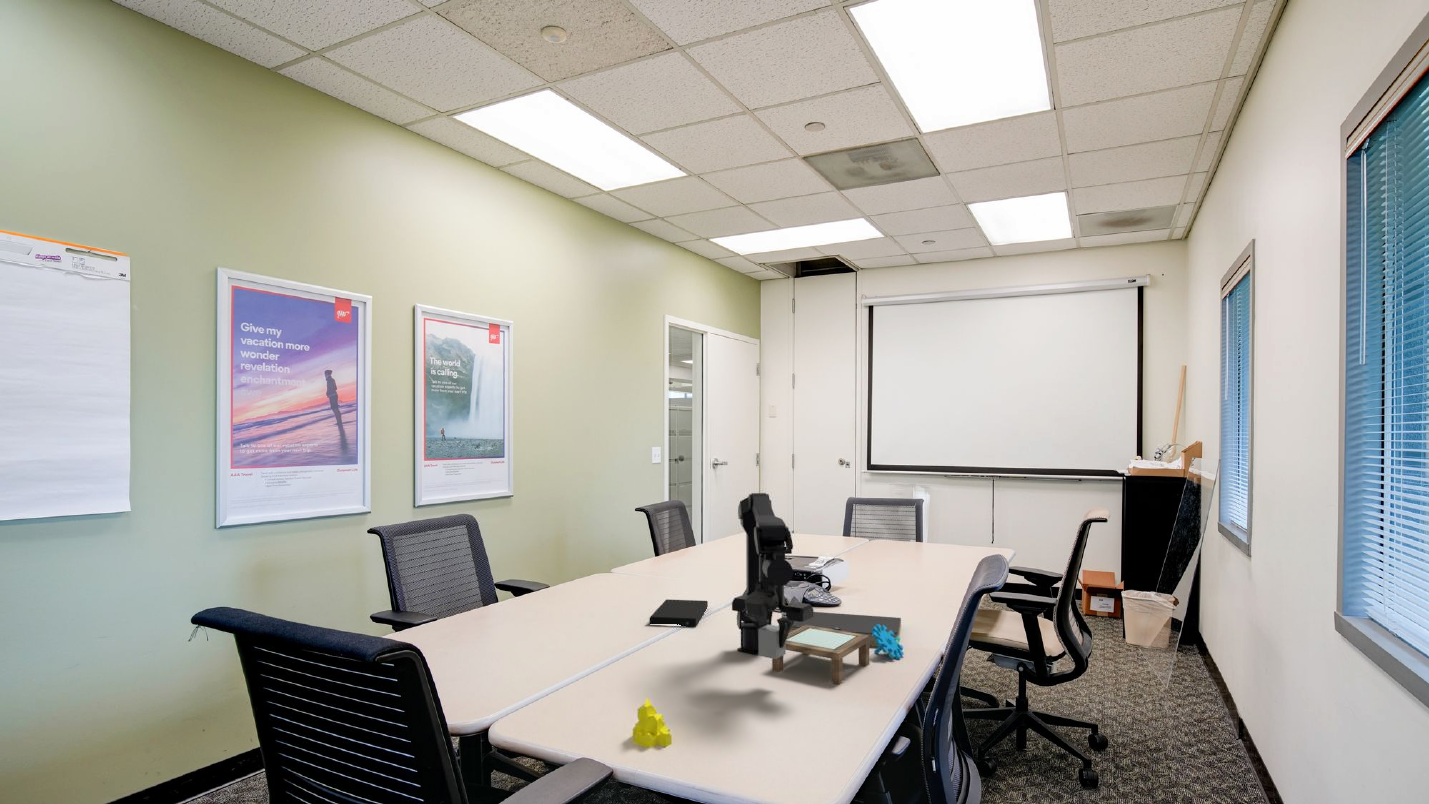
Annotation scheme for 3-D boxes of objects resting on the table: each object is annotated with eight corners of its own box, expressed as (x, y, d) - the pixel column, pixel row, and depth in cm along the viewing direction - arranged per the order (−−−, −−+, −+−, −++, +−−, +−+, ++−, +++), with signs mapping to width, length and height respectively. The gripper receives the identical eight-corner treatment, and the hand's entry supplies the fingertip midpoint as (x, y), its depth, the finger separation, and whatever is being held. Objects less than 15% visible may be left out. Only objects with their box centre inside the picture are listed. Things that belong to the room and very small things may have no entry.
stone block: (758, 655, 160) (758, 628, 160) (768, 650, 163) (768, 624, 164) (775, 659, 157) (775, 632, 157) (785, 654, 161) (785, 627, 161)
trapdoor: (809, 632, 183) (809, 628, 183) (856, 640, 176) (856, 636, 176) (785, 644, 173) (785, 640, 173) (833, 653, 165) (833, 649, 165)
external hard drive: (707, 609, 233) (707, 600, 233) (695, 628, 210) (695, 618, 210) (665, 608, 235) (665, 599, 235) (649, 627, 212) (649, 616, 212)
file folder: (776, 626, 198) (792, 607, 221) (776, 641, 198) (792, 621, 221) (897, 635, 188) (900, 615, 211) (897, 651, 188) (901, 629, 211)
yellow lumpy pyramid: (659, 751, 128) (659, 708, 128) (625, 741, 132) (625, 699, 132) (678, 740, 133) (678, 698, 133) (645, 730, 137) (645, 690, 137)
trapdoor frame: (772, 669, 172) (772, 640, 172) (806, 651, 186) (805, 624, 187) (839, 684, 162) (838, 653, 162) (869, 663, 176) (869, 635, 176)
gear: (891, 657, 176) (868, 623, 182) (875, 671, 178) (854, 636, 184) (914, 654, 183) (891, 621, 189) (898, 667, 186) (877, 634, 192)
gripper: (718, 578, 160) (718, 647, 159) (790, 587, 149) (791, 662, 149) (744, 570, 169) (744, 636, 168) (814, 579, 158) (815, 649, 158)
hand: (772, 645), depth 160 cm, fingers closed on stone block, 4 cm apart
